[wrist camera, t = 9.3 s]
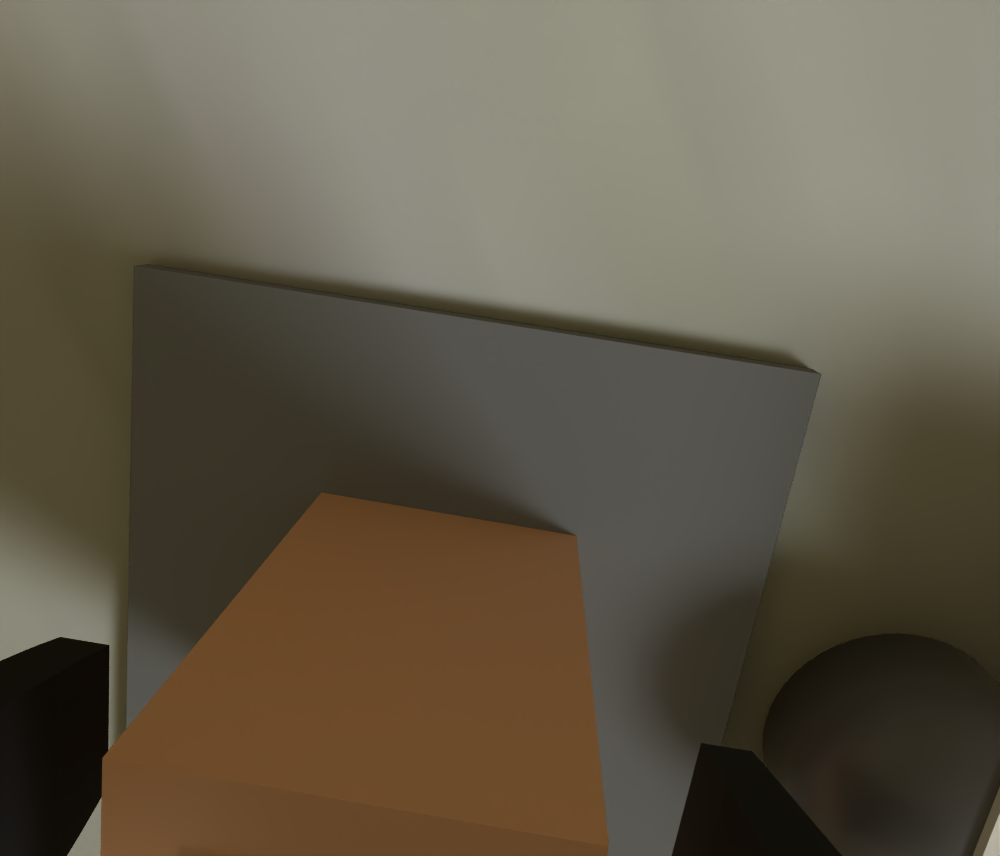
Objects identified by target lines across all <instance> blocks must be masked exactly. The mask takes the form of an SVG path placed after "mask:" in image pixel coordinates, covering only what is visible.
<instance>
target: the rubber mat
mask: <svg viewBox="0 0 1000 856" xmlns="http://www.w3.org/2000/svg"><path fill="white" fill-rule="evenodd" d="M820 377H821V374H820V373H818V372H816V371H815V370H813V369H809V368H803V367H796V366H790V365H783V364H777V363H771V362H764V361H758V360H752V359H745V358H739V357H733V356H726V355H720V354H714V353H707V352H701V351H695V350H688V349H682V348H676V347H669V346H663V345H657V344H650V343H644V342H637V341H631V340H625V339H618V338H612V337H606V336H599V335H593V334H587V333H580V332H574V331H568V330H561V329H555V328H549V327H542V326H536V325H530V324H523V323H517V322H511V321H504V320H498V319H492V318H485V317H479V316H472V315H466V314H460V313H453V312H447V311H441V310H434V309H428V308H422V307H415V306H409V305H403V304H396V303H390V302H384V301H377V300H371V299H365V298H358V297H352V296H346V295H339V294H333V293H326V292H320V291H314V290H307V289H301V288H295V287H288V286H282V285H276V284H269V283H263V282H257V281H250V280H244V279H238V278H231V277H225V276H219V275H212V274H206V273H200V272H193V271H187V270H180V269H174V268H168V267H161V266H155V265H149V264H147V265H138V266H134V305H133V362H132V418H131V475H130V532H129V588H128V645H127V702H126V729H127V728H128V726H129V725H130V724H131V723H132V721H133V720H134V719H135V718H136V717H137V715H138V714H139V713H140V712H141V711H142V709H143V708H144V707H145V706H146V704H147V703H148V702H149V701H150V700H151V698H152V697H153V696H154V695H155V694H156V692H157V691H158V690H159V689H160V688H161V686H162V685H163V684H164V683H165V681H166V680H167V679H168V678H169V677H170V675H171V674H172V673H173V672H174V671H175V669H176V668H177V667H178V666H179V664H180V663H181V662H182V661H183V660H184V658H185V657H186V656H187V655H188V654H189V652H190V651H191V650H192V649H193V647H194V646H195V645H196V644H197V643H198V641H199V640H200V639H201V638H202V637H203V635H204V634H205V633H206V632H207V631H208V629H209V628H210V627H211V626H212V624H213V623H214V622H215V621H216V620H217V618H218V617H219V616H220V615H221V614H222V612H223V611H224V610H225V609H226V607H227V606H228V605H229V604H230V603H231V601H232V600H233V599H234V598H235V597H236V595H237V594H238V593H239V592H240V591H241V589H242V588H243V587H244V586H245V584H246V583H247V582H248V581H249V580H250V578H251V577H252V576H253V575H254V574H255V572H256V571H257V570H258V569H259V567H260V566H261V565H262V564H263V563H264V561H265V560H266V559H267V558H268V557H269V555H270V554H271V553H272V552H273V551H274V549H275V548H276V547H277V546H278V544H279V543H280V542H281V541H282V540H283V538H284V537H285V536H286V535H287V534H288V532H289V531H290V530H291V529H292V527H293V526H294V525H295V524H296V523H297V521H298V520H299V519H300V518H301V517H302V515H303V514H304V513H305V512H306V510H307V509H308V508H309V507H310V506H311V504H312V503H313V502H314V501H315V500H316V498H317V497H318V496H319V495H320V494H321V492H322V493H327V494H333V495H339V496H345V497H351V498H357V499H363V500H369V501H374V502H380V503H386V504H392V505H398V506H404V507H410V508H415V509H421V510H427V511H433V512H439V513H445V514H451V515H457V516H462V517H468V518H474V519H480V520H486V521H492V522H498V523H503V524H509V525H515V526H521V527H527V528H533V529H539V530H545V531H550V532H556V533H562V534H568V535H574V536H577V545H578V554H579V564H580V574H581V583H582V593H583V602H584V612H585V621H586V631H587V640H588V650H589V660H590V669H591V679H592V688H593V698H594V707H595V717H596V727H597V736H598V746H599V755H600V765H601V774H602V784H603V794H604V803H605V813H606V822H607V832H608V841H609V849H608V853H607V856H672V852H673V848H674V844H675V841H676V837H677V833H678V829H679V825H680V822H681V818H682V814H683V810H684V806H685V802H686V799H687V795H688V791H689V787H690V783H691V779H692V776H693V772H694V768H695V764H696V760H697V757H698V753H699V749H700V745H701V743H704V744H710V745H716V746H721V744H722V740H723V736H724V733H725V729H726V725H727V721H728V718H729V714H730V710H731V707H732V703H733V699H734V696H735V692H736V688H737V684H738V681H739V677H740V673H741V670H742V666H743V662H744V659H745V655H746V651H747V647H748V644H749V640H750V636H751V633H752V629H753V625H754V622H755V618H756V614H757V610H758V607H759V603H760V599H761V596H762V592H763V588H764V585H765V581H766V577H767V573H768V570H769V566H770V562H771V559H772V555H773V551H774V548H775V544H776V540H777V536H778V533H779V529H780V525H781V522H782V518H783V514H784V511H785V507H786V503H787V499H788V496H789V492H790V488H791V485H792V481H793V477H794V474H795V470H796V466H797V462H798V459H799V455H800V451H801V448H802V444H803V440H804V437H805V433H806V429H807V425H808V422H809V418H810V414H811V411H812V407H813V403H814V400H815V396H816V392H817V388H818V385H819V381H820Z"/></svg>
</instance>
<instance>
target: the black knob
mask: <svg viewBox="0 0 1000 856" xmlns="http://www.w3.org/2000/svg"><path fill="white" fill-rule="evenodd" d="M763 755H764V761H765V765H766V767H767V769H768V770H769V771H770V772H771V773H772V774H773V775H774V777H775V778H776V779H777V780H778V781H779V782H780V784H781V785H782V786H783V787H784V788H785V789H786V791H787V792H788V793H789V794H790V795H791V796H792V798H793V799H794V800H795V801H796V802H797V804H798V805H799V806H800V807H801V808H802V809H803V811H804V812H805V813H806V814H807V815H808V816H809V818H810V819H811V820H812V821H813V822H814V823H815V825H816V826H817V827H818V828H819V829H820V830H821V832H822V833H823V834H824V835H825V836H826V838H827V839H828V840H829V841H830V842H831V843H832V845H833V846H834V847H835V848H836V849H837V850H838V851H839V853H840V854H841V855H842V856H1000V684H999V683H998V682H997V681H996V680H995V679H994V678H993V677H992V676H991V675H990V674H989V673H988V672H987V671H986V670H985V669H984V668H983V667H982V666H981V665H979V664H978V663H977V662H976V661H975V660H974V659H973V658H971V657H970V656H968V655H967V654H966V653H964V652H963V651H961V650H959V649H957V648H955V647H953V646H951V645H949V644H947V643H944V642H941V641H938V640H935V639H932V638H927V637H923V636H918V635H909V634H881V635H873V636H867V637H863V638H859V639H855V640H851V641H848V642H845V643H843V644H840V645H837V646H835V647H833V648H831V649H829V650H827V651H825V652H823V653H821V654H820V655H818V656H816V657H815V658H813V659H812V660H810V661H809V662H807V663H806V664H805V665H804V666H803V667H801V668H800V669H799V670H798V671H797V672H796V673H795V674H794V675H793V676H792V677H791V678H790V679H789V680H788V681H787V682H786V683H785V685H784V686H783V688H782V689H781V690H780V692H779V693H778V694H777V696H776V698H775V700H774V702H773V704H772V706H771V708H770V710H769V713H768V716H767V719H766V722H765V727H764V732H763Z"/></svg>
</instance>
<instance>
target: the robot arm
mask: <svg viewBox="0 0 1000 856" xmlns="http://www.w3.org/2000/svg"><path fill="white" fill-rule="evenodd" d="M108 725H109V645H105V644H99V643H93V642H87V641H81V640H75V639H69V638H63V637H59V638H56V639H54V640H51V641H48V642H45V643H43V644H40V645H37V646H35V647H32V648H30V649H28V650H25V651H23V652H20V653H18V654H16V655H13V656H11V657H9V658H6V659H4V660H2V661H0V856H67V854H68V853H69V851H70V850H71V848H72V846H73V845H74V843H75V841H76V840H77V838H78V837H79V835H80V833H81V832H82V830H83V828H84V826H85V825H86V823H87V821H88V820H89V818H90V816H91V814H92V813H93V811H94V809H95V807H96V806H97V804H98V802H99V800H100V799H101V797H102V758H103V757H104V755H105V754H106V753H107V752H108ZM672 856H842V855H841V854H840V853H839V851H838V850H837V849H836V848H835V847H834V846H833V845H832V843H831V842H830V841H829V840H828V839H827V838H826V836H825V835H824V834H823V833H822V832H821V830H820V829H819V828H818V827H817V826H816V825H815V823H814V822H813V821H812V820H811V819H810V818H809V816H808V815H807V814H806V813H805V812H804V811H803V809H802V808H801V807H800V806H799V805H798V804H797V802H796V801H795V800H794V799H793V798H792V796H791V795H790V794H789V793H788V792H787V791H786V789H785V788H784V787H783V786H782V785H781V784H780V782H779V781H778V780H777V779H776V778H775V777H774V775H773V774H772V773H771V772H770V771H769V770H768V769H767V767H766V766H765V765H764V764H763V763H762V762H761V761H760V760H759V758H758V757H757V756H756V755H755V754H754V753H753V752H752V751H747V750H741V749H735V748H729V747H723V746H716V745H710V744H704V743H701V745H700V749H699V753H698V757H697V760H696V764H695V768H694V772H693V776H692V779H691V783H690V787H689V791H688V795H687V799H686V802H685V806H684V810H683V814H682V818H681V822H680V825H679V829H678V833H677V837H676V841H675V844H674V848H673V852H672Z"/></svg>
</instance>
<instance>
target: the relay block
mask: <svg viewBox="0 0 1000 856" xmlns="http://www.w3.org/2000/svg"><path fill="white" fill-rule="evenodd" d="M608 849H609V841H608V832H607V822H606V813H605V803H604V794H603V784H602V774H601V765H600V755H599V746H598V736H597V727H596V717H595V707H594V698H593V688H592V679H591V669H590V660H589V650H588V640H587V631H586V621H585V612H584V602H583V593H582V583H581V574H580V564H579V554H578V545H577V536H574V535H568V534H562V533H556V532H550V531H545V530H539V529H533V528H527V527H521V526H515V525H509V524H503V523H498V522H492V521H486V520H480V519H474V518H468V517H462V516H457V515H451V514H445V513H439V512H433V511H427V510H421V509H415V508H410V507H404V506H398V505H392V504H386V503H380V502H374V501H369V500H363V499H357V498H351V497H345V496H339V495H333V494H327V493H322V492H321V494H320V495H319V496H318V497H317V498H316V500H315V501H314V502H313V503H312V504H311V506H310V507H309V508H308V509H307V510H306V512H305V513H304V514H303V515H302V517H301V518H300V519H299V520H298V521H297V523H296V524H295V525H294V526H293V527H292V529H291V530H290V531H289V532H288V534H287V535H286V536H285V537H284V538H283V540H282V541H281V542H280V543H279V544H278V546H277V547H276V548H275V549H274V551H273V552H272V553H271V554H270V555H269V557H268V558H267V559H266V560H265V561H264V563H263V564H262V565H261V566H260V567H259V569H258V570H257V571H256V572H255V574H254V575H253V576H252V577H251V578H250V580H249V581H248V582H247V583H246V584H245V586H244V587H243V588H242V589H241V591H240V592H239V593H238V594H237V595H236V597H235V598H234V599H233V600H232V601H231V603H230V604H229V605H228V606H227V607H226V609H225V610H224V611H223V612H222V614H221V615H220V616H219V617H218V618H217V620H216V621H215V622H214V623H213V624H212V626H211V627H210V628H209V629H208V631H207V632H206V633H205V634H204V635H203V637H202V638H201V639H200V640H199V641H198V643H197V644H196V645H195V646H194V647H193V649H192V650H191V651H190V652H189V654H188V655H187V656H186V657H185V658H184V660H183V661H182V662H181V663H180V664H179V666H178V667H177V668H176V669H175V671H174V672H173V673H172V674H171V675H170V677H169V678H168V679H167V680H166V681H165V683H164V684H163V685H162V686H161V688H160V689H159V690H158V691H157V692H156V694H155V695H154V696H153V697H152V698H151V700H150V701H149V702H148V703H147V704H146V706H145V707H144V708H143V709H142V711H141V712H140V713H139V714H138V715H137V717H136V718H135V719H134V720H133V721H132V723H131V724H130V725H129V726H128V728H127V729H126V730H125V731H124V732H123V734H122V735H121V736H120V737H119V738H118V740H117V741H116V742H115V743H114V744H113V746H112V747H111V748H110V749H109V751H108V752H107V753H106V754H105V755H104V757H103V758H102V807H101V856H607V853H608Z"/></svg>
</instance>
